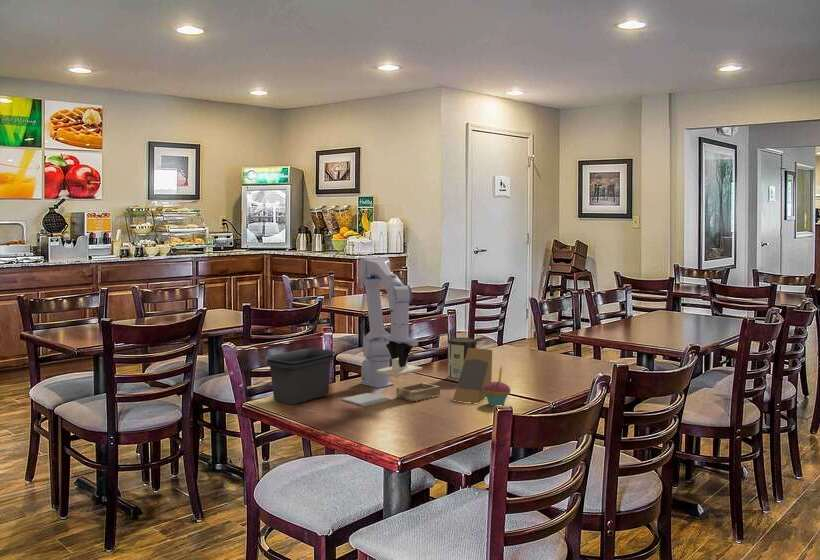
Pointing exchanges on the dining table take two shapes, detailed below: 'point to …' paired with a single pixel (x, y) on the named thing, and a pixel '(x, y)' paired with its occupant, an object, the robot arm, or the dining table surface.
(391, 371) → the lid
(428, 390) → the box
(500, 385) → the cupcake
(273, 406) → the dining table surface
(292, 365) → the storage bin
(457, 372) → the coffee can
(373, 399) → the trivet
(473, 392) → the sandwich container
